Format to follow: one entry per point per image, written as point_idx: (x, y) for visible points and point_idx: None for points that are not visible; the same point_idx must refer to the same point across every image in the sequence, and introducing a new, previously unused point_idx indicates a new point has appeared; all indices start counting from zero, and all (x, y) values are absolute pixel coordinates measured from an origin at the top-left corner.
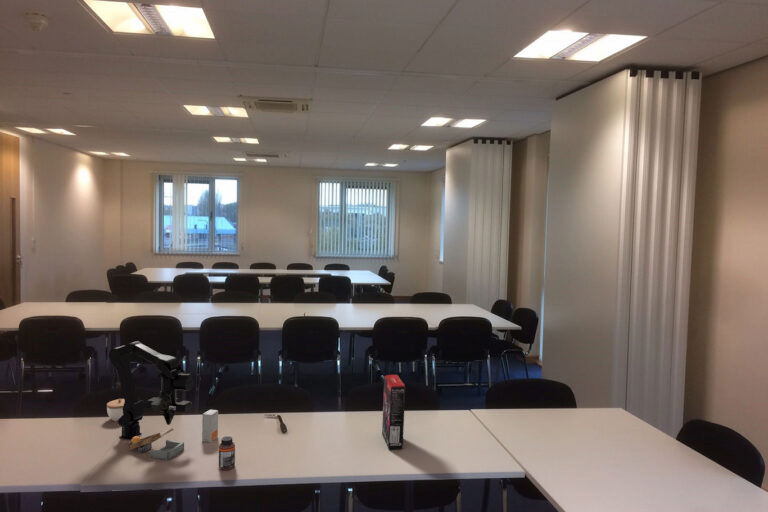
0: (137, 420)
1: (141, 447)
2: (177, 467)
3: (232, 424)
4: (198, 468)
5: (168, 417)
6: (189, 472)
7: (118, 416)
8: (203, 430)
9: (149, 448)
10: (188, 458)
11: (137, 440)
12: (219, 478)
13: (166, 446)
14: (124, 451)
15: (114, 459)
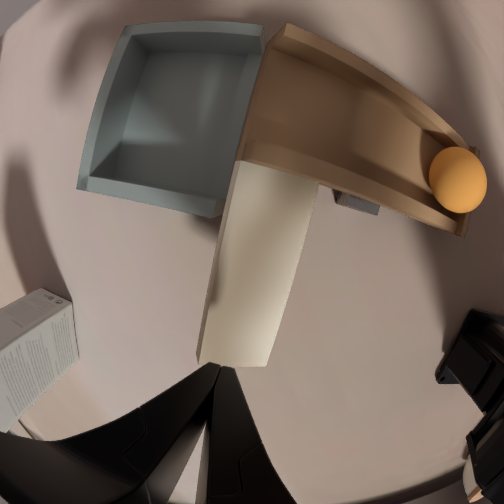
0: (491, 412)
1: None
2: (95, 14)
3: None
4: (35, 45)
5: (159, 423)
6: (58, 12)
7: None
8: (26, 323)
9: None
10: (65, 94)
11: (445, 153)
12: (5, 35)
13: (213, 188)
14: None
15: (449, 58)
